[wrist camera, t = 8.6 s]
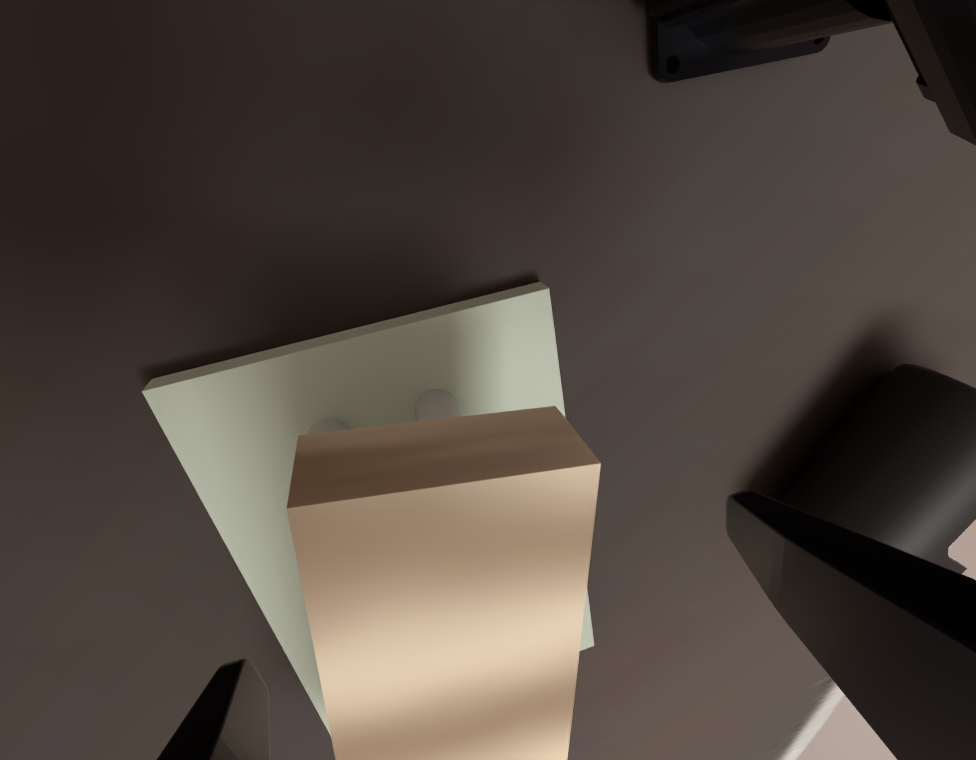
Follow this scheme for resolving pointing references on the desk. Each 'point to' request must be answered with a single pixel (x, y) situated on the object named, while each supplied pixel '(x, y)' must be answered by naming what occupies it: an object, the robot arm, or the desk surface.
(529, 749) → the shelf board
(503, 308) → the peg plate
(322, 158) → the desk surface
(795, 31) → the robot arm
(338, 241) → the desk surface
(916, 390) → the end cap
